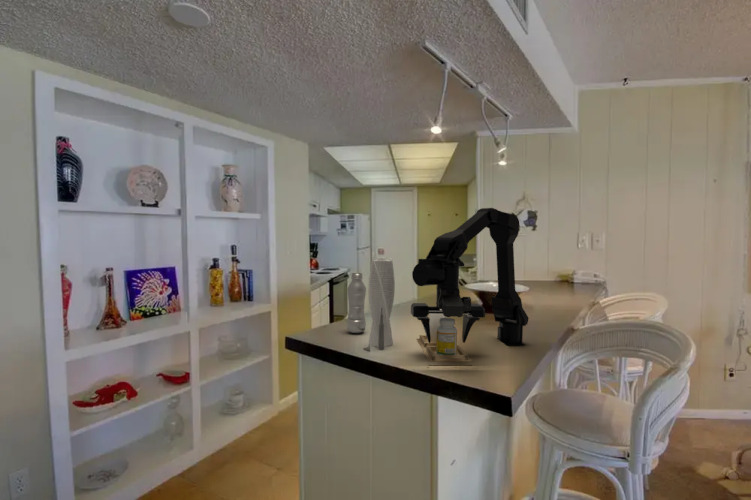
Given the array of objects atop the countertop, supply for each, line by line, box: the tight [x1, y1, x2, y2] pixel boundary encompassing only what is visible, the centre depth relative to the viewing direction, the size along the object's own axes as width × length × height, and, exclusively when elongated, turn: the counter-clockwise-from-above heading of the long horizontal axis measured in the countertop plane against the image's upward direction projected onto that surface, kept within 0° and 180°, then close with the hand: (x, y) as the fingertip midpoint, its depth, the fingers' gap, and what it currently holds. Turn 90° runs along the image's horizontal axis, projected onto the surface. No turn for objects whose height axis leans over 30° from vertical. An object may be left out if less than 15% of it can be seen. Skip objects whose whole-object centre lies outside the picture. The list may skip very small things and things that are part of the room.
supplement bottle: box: [436, 317, 458, 355], centre depth 105 cm, size 5×5×10 cm
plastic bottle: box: [346, 272, 367, 334], centre depth 133 cm, size 6×7×20 cm
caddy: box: [416, 334, 473, 367], centre depth 111 cm, size 11×22×2 cm, turn 3°
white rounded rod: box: [428, 309, 447, 342], centre depth 117 cm, size 5×5×10 cm
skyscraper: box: [362, 251, 396, 352], centre depth 114 cm, size 8×8×28 cm
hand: (446, 342), depth 105 cm, fingers open, 9 cm apart
